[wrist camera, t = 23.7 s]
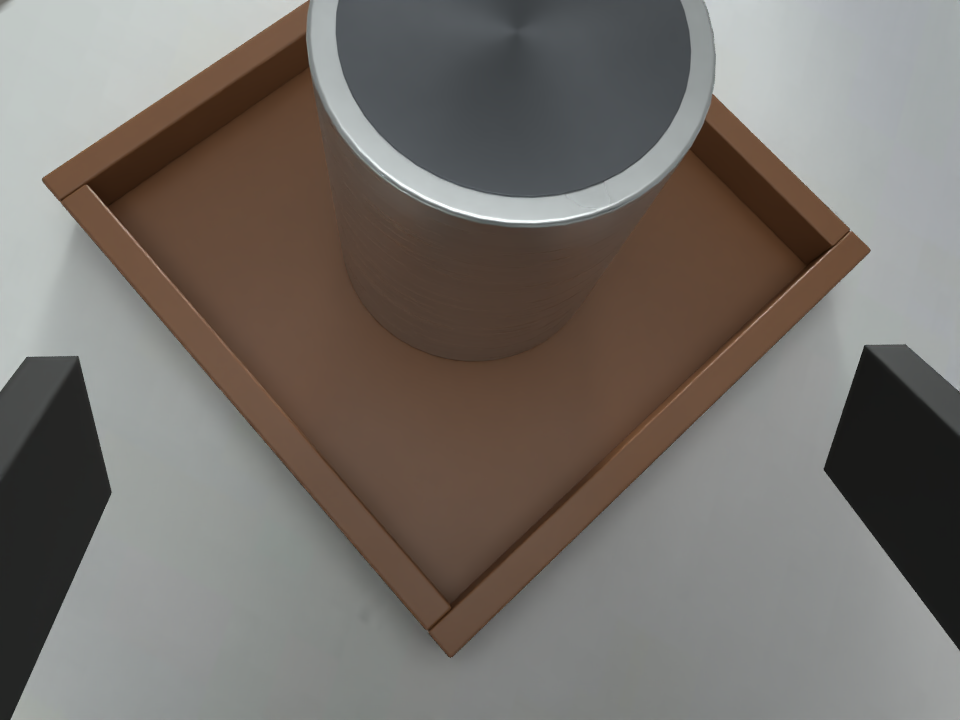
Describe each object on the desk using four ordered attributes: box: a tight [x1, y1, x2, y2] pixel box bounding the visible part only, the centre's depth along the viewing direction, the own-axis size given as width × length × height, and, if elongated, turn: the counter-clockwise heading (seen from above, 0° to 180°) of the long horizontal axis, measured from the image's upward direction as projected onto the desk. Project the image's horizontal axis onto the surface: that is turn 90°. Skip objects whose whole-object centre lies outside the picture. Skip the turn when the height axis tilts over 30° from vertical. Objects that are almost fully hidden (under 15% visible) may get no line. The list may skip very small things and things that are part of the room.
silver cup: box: [306, 0, 716, 361], centre depth 18 cm, size 7×7×9 cm
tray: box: [42, 0, 871, 658], centre depth 22 cm, size 16×16×2 cm
